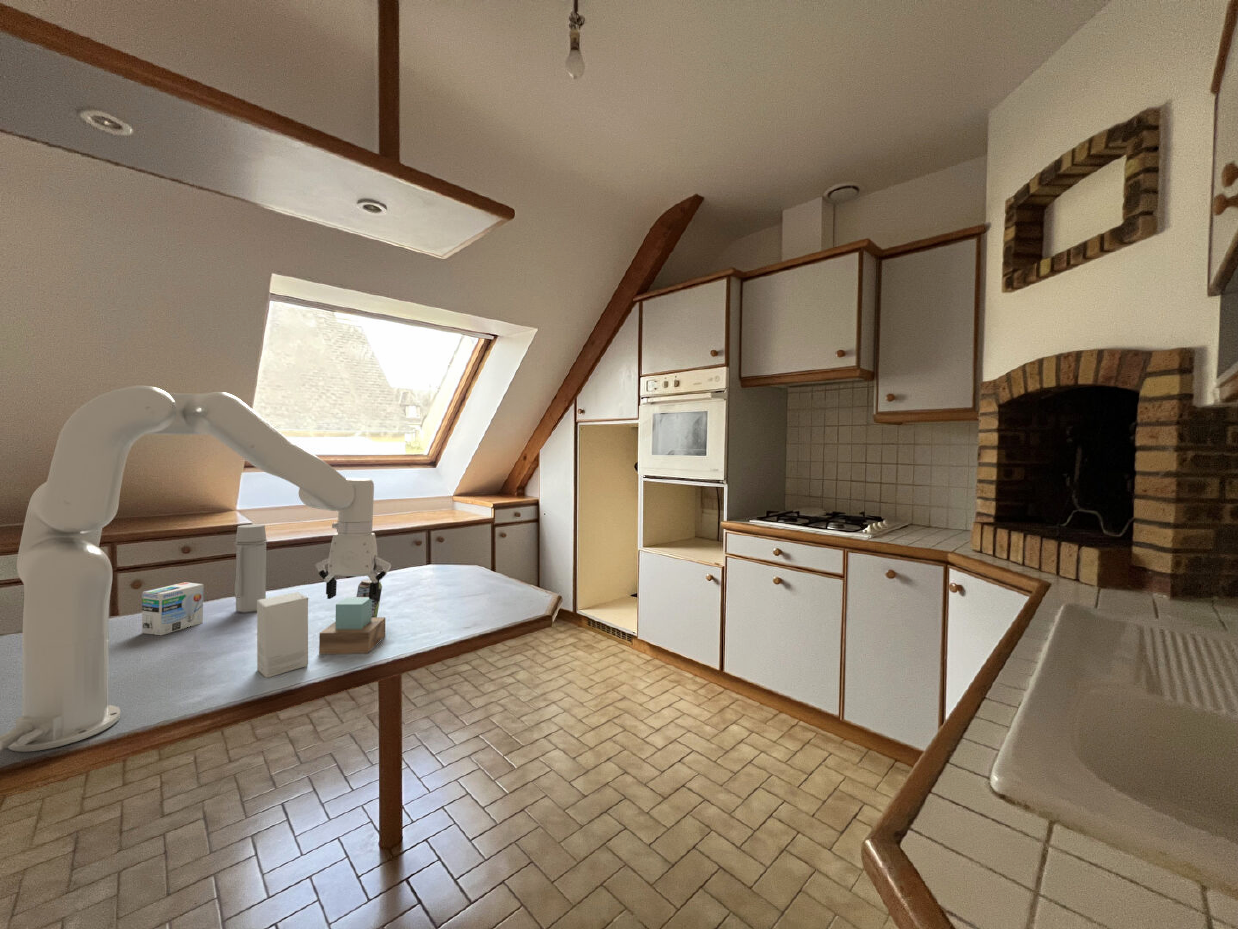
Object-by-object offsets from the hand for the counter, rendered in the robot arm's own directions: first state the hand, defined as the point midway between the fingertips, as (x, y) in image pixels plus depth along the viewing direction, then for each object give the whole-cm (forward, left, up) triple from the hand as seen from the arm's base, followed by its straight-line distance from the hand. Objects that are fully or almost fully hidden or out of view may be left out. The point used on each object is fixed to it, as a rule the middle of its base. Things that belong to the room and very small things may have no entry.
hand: (352, 597), depth 121 cm
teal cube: (0, 0, -7) cm, 7 cm away
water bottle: (+28, +41, -12) cm, 51 cm away
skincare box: (-13, +9, -12) cm, 20 cm away
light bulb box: (+14, +51, -12) cm, 54 cm away
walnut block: (0, 0, -12) cm, 12 cm away
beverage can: (+16, +3, -12) cm, 21 cm away
